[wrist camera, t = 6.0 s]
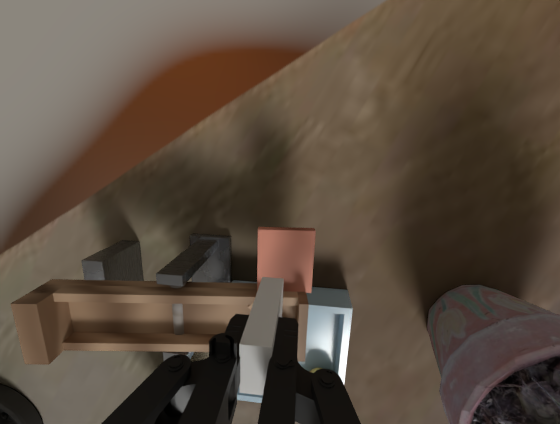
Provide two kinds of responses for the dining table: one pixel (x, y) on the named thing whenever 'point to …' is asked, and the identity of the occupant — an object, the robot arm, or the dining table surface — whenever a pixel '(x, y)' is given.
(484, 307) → the potted plant
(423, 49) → the dining table surface
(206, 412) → the robot arm
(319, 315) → the dish
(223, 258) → the fulcrum
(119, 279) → the block
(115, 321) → the brown wooden trough
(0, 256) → the dining table surface
